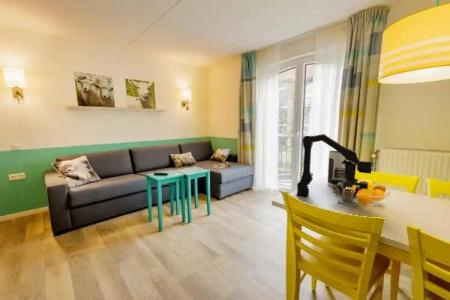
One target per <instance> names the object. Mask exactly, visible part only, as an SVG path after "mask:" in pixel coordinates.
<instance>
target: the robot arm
mask: <svg viewBox="0 0 450 300" xmlns="http://www.w3.org/2000/svg"><path fill="white" fill-rule="evenodd" d="M316 142H323V143H325V144H326V145H327V146H329V147H330V148H332V149H334V151H338V152H340V153H341V154H342V155H343V156H344V157H345V158H344V161H342V162H341V164H344V178H343V180H339V178H332V180H331V184H335V185H336V186H338V187H339V190H340V195H341V196H340V197H342V190H343V188H342V184H343V186H345V187H348V188H353V187H355V189H354V190H355V192H354V199H356V196H357V194H358V192H359V191H362V189H363V190H368V188H369V183H368V182H367V181H359V182H358V179H357V178H356V171H357V172H358V173H359V174H360V173H361V174H368V175H369V174H372V162H371V161H369V160H368V161H367V160H366V161H364V160H363V161H362V160H360V158H358V155H357V152H356V151H355V150H353V149H351V148H348V147H346V146H344V145H341V144H340V143H339V142H337V141H336V140H335V139H332V138H331V137H330V136H328V135H327V134H325V133H322V134H317V135H316V134H315V135H311V134H307V135H305V136H304V137H303V138H302V145H303V149H304V151H303V152H304V154H303V170H302V174H301V179H300V180H299V181H298V182H297V184H296V185H297V186H296V187H297V190H296V195H295V196H299V197H303V198H304V197H305V198H307V197H308V196H309V194H310V188H309V185H310V184H311V182H312V181H313V180H314V179H313V175H314V173H313V172H311V160H312V159H311V158H312V149H313V145H314V143H316Z"/></svg>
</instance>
